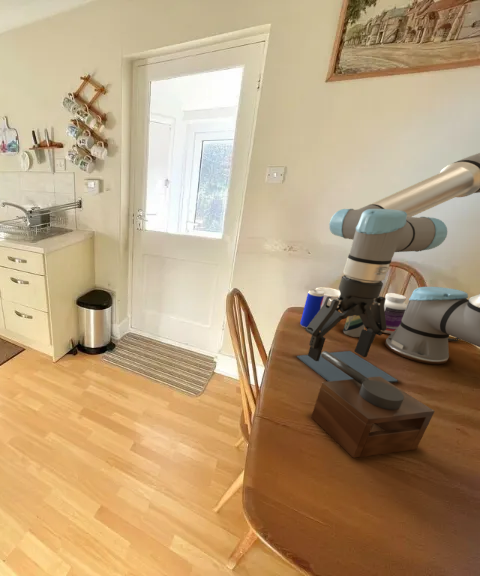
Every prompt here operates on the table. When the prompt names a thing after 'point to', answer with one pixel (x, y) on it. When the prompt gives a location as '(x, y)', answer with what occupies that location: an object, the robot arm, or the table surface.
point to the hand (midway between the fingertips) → (336, 356)
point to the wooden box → (369, 419)
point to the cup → (329, 293)
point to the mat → (347, 357)
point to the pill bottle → (394, 311)
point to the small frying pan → (370, 386)
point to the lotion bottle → (353, 326)
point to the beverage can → (311, 306)
